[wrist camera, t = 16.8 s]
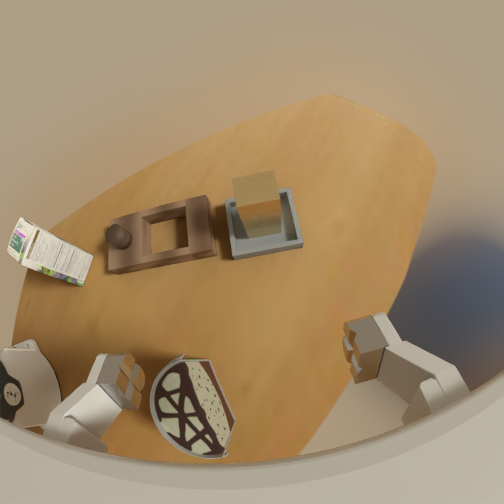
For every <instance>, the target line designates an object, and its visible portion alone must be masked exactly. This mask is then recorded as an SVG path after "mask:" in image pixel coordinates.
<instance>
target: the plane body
mask: <svg viewBox="0 0 504 504" xmlns="http://www.w3.org/2000/svg"><path fill="white" fill-rule="evenodd" d="M183 216H186V220H187V233H188V245H189V247H184V248H179V249H174V250H169V251H165V252H160V253H155V254H151V230H150V224H154V223H158V222H162V221H166V220H170V219H175V218H179V217H183ZM106 240H107V242H108V243H109V246H108V270H109V271H112V272H114V273H117V274H124V273H129V272H134V271H140V270H145V269H150V268H155V267H160V266H165V265H171V264H176V263H181V262H186V261H191V260H197V259H202V258H207V257H212V256H217V251H216V243H215V235H214V227H213V218H212V209H211V203H210V202H209V200H208V198H207V197H206V195H202V196H198V197H194V198H190V199H186V200H182V201H178V202H174V203H170V204H166V205H162V206H158V207H154V208H151V209H147V210H143V211H140V212H136V213H133V214H129V215H126V216H122V217H119V218H115V219H112V220H109V228H108V230H107V232H106Z"/></svg>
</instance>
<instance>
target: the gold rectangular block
mask: <svg viewBox="0 0 504 504" xmlns="http://www.w3.org/2000/svg"><path fill="white" fill-rule="evenodd" d="M232 182H233V189H234V195H235V202H236V208H237V210H238V213H239V215H240V218H241V220H242V223H243V225H244V228H245V230H246V233H247V235H248V238H249V239H251V238H256V237H261V236H267V235H272V234H277V233H282V224H281V203H280V196H279V191H278V187H277V183H276V179H275V175H274V171H268V172H263V173H258V174H253V175H248V176H243V177H238V178H233V179H232Z"/></svg>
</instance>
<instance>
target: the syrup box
mask: <svg viewBox="0 0 504 504" xmlns="http://www.w3.org/2000/svg"><path fill="white" fill-rule="evenodd" d="M7 252H8V253H9V254H10V255H11V256H12V257H13V258H14V259H16V260H17V261H18V262H19V263H20V264H21V265H22V266H25V267H27V268H30V269H33V270H35V271H38V272H41V273H44V274H46V275H49V276H52V277H55V278H58V279H61V280H64V281H67V282H70V283H73V284H76V285H79V286H83V284H84V281H85V279H86V276H87V273H88V270H89V268H90V265H91V262H92V259H93V257H94V256H93V255H92V254H89V253H88V252H86V251H84V250H82V249H80V248H78V247H76V246H74V245H72V244H71V243H69V242H67V241H65V240H63V239H61V238H59V237H57V236H55V235H53V234H52V233H50V232H48V231H46V230H44V229H42V228H40V227H39V226H37V225H35V224H33V223H31V222H29V221H28V220H26V219H24V218H22V217H21V218H20V219H19V221H18V223H17V225H16V227H15V229H14V232H13V234H12V236H11V239H10V242H9V246H8V250H7Z"/></svg>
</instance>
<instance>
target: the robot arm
mask: <svg viewBox="0 0 504 504" xmlns="http://www.w3.org/2000/svg"><path fill="white" fill-rule="evenodd" d="M343 330H344V332H345V336H344V337H343V350H344V354H345V357H346V360H347V362H349V363H351V368H350V371H351V374H352V377H353V379H354V382H355V384H358V383H362V382H365V381H369V380H372V379H376V378H377V380H378V381H379V382H381V383H382V384H383V385H385V386H386V387H387V388H389V389H390V390H391V391H393V392H394V393H395V394H396V395H398V396H399V397H400V398H402V399H403V400H404V401H406V402H407V403H409V404H410V405H409V406H408V408H407V410H406V411H405V413H404V415H403V417H402V421H403V423H404V426H402V427H399V428H397V429H394V430H391V431H389V432H386V433H384V434H380V435H378V436H374V437H371V438H368V439H365V440H362V441H359V442H355V443H352V444H348V445H344V446H341V447H337V448H333V449H329V450H324V451H320V452H315V453H310V454H305V455H300V456H294V457H287V458H281V459H273V460H265V461H255V462H242V463H219V464H196V463H173V462H161V461H151V460H142V459H135V458H128V457H122V456H117V455H111V454H107V450H108V446H107V445H106V444H105V443H103V442H102V441H101V440H99V439H100V438H101V436H102V435H103V434H104V432H105V431H106V430H107V429H108V427H109V426H110V425H111V424H112V422H113V421H114V420H115V418H116V417H117V416H118V415H119V413H120V412H121V411H122V409H139V407H140V402H141V398H142V395H141V393H140V391H141V390H142V389H143V388H144V385H145V374H144V371H143V369H142V368H141V366H139V365H138V364H136V363H135V358H134V357H133V355H132V354H128V353H121V354H99V355H98V356H97V357H96V360H95V362H94V364H93V367H92V369H91V372H90V374H89V376H88V379H87V381H86V383H83V384H82V385H80V386H79V387H78V388H77V389H76V390H75V391H74V392H73V393H72V394H70V395H69V396H68V397H67V398H66V399H65V400H64V401H63V402H62V403H61V395H60V389H59V385H58V381H57V378H56V375H55V373H54V371H53V369H52V367H51V365H50V363H49V362H48V360H47V359H46V358H45V357H44V356H43V354H42V353H41V352H40V350H39V348H38V345H37V343H36V341H35V340H34V339H29V340H26V341H24V342H21V343H19V344H16V345H14V346H11V347H9V348H4V350H3V351H0V504H504V371H502V372H501V373H500V374H498V375H497V376H495V377H494V378H492V379H491V380H489V381H488V382H487V383H485V384H483V385H482V386H480V387H479V388H477V389H475V390H474V391H472V392H470V391H469V389H468V388H467V386H466V384H465V382H464V381H463V379H462V377H461V375H460V374H459V372H458V370H457V369H456V367H455V366H454V365H452V364H450V363H448V362H446V361H444V360H442V359H440V358H438V357H436V356H434V355H432V354H430V353H428V352H426V351H424V350H422V349H421V348H419V347H417V346H415V345H413V344H411V343H409V342H407V341H403V342H402V341H401V339H400V337H399V335H398V334H397V332H396V330H395V329H394V327H393V326H392V324H391V322H390V321H389V319H388V317H387V316H386V314H385V313H384V312H379V313H376V314H372V315H368V316H365V317H361V318H357V319H354V320H350V321H346V322H345V323H344V328H343ZM11 422H13V423H14V424H13V423H11ZM34 426H40V427H41V428H43V429H44V432H43V435H40V434H37V433H35V432H32V431H30V430H27V429H25V428H27V427H34Z"/></svg>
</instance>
